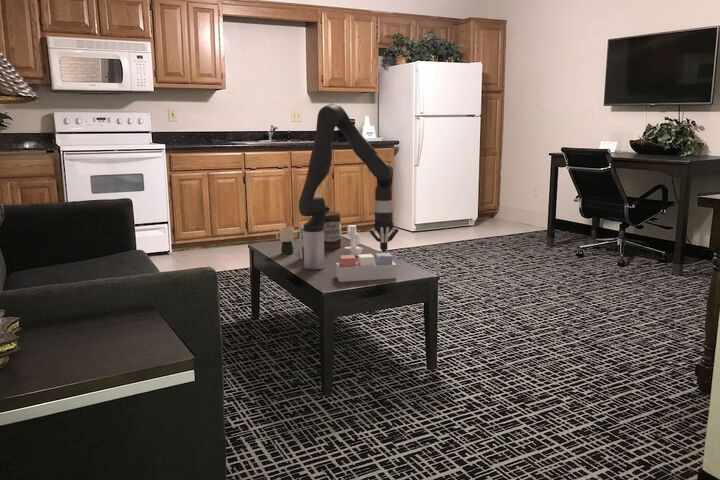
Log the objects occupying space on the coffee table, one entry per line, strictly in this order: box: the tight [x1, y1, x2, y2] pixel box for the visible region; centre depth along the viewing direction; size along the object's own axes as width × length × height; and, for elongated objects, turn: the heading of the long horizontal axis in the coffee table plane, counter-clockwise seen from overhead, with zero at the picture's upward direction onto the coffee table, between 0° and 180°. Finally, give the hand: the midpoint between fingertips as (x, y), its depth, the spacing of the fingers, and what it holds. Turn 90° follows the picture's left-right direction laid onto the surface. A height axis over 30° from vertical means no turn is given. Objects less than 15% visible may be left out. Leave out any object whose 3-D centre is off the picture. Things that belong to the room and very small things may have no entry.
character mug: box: [275, 226, 298, 255], centre depth 294 cm, size 11×7×13 cm, turn 111°
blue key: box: [374, 252, 393, 265], centre depth 250 cm, size 6×6×5 cm
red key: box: [339, 254, 357, 267], centre depth 247 cm, size 6×6×5 cm
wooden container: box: [324, 205, 342, 251], centre depth 308 cm, size 15×15×22 cm
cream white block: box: [357, 253, 375, 266], centre depth 249 cm, size 6×6×5 cm
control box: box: [335, 260, 397, 283], centre depth 250 cm, size 9×24×6 cm, turn 101°
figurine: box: [343, 224, 364, 257], centre depth 289 cm, size 7×9×15 cm
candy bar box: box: [298, 225, 304, 261], centre depth 283 cm, size 11×5×16 cm, turn 112°
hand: (383, 250), depth 249 cm, fingers closed
